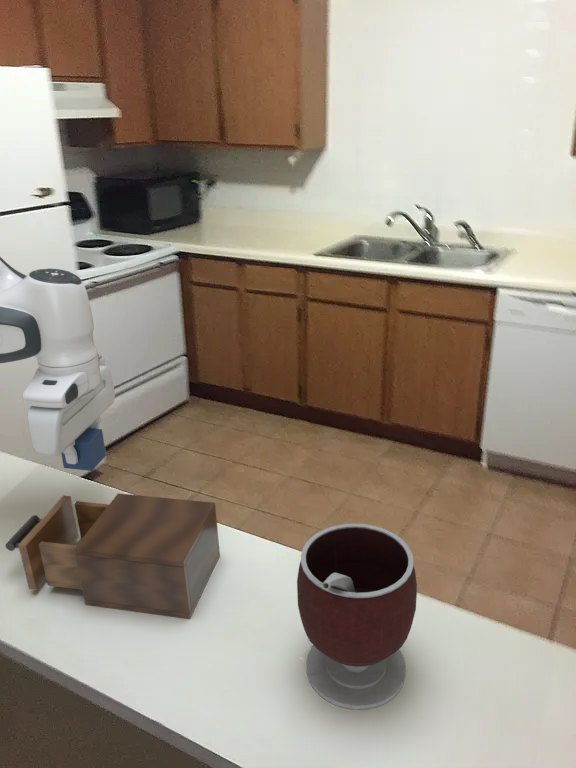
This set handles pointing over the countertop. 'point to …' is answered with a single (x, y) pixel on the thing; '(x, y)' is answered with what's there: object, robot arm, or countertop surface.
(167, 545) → the cabinet
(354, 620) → the mate gourd
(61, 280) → the robot arm
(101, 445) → the block
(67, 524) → the drawer
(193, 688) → the countertop surface
